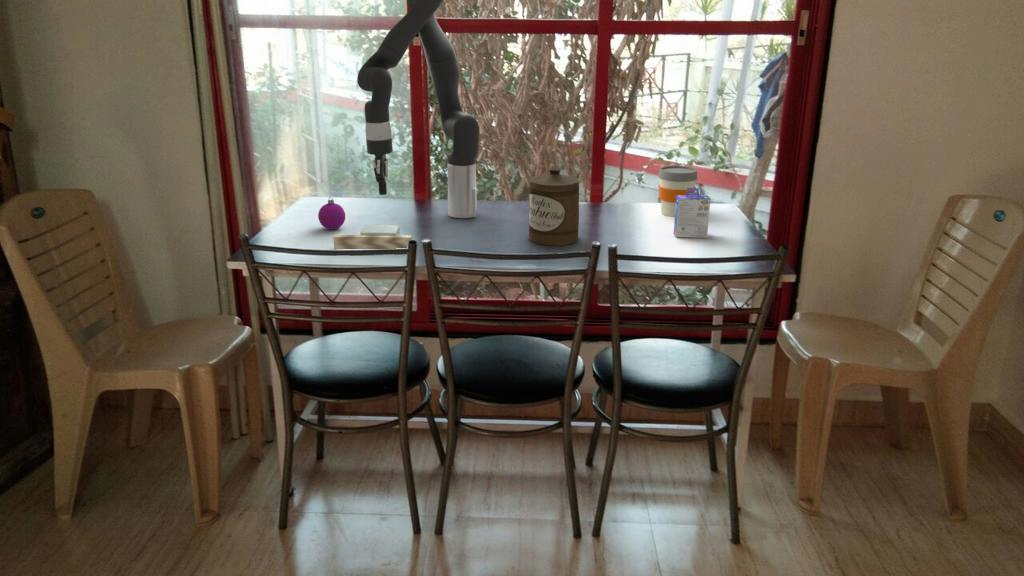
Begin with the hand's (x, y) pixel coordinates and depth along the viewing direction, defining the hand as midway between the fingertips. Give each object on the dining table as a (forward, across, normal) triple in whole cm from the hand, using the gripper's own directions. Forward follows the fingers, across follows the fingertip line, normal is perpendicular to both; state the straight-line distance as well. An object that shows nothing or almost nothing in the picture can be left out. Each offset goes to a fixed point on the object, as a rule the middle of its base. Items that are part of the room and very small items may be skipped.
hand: (383, 194), depth 251 cm
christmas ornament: (+12, +3, +17) cm, 21 cm away
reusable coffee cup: (+15, +24, -93) cm, 98 cm away
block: (+12, -13, 0) cm, 18 cm away
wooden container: (+14, -6, -51) cm, 53 cm away
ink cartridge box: (+15, -2, -93) cm, 94 cm away
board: (+12, -18, +1) cm, 22 cm away
